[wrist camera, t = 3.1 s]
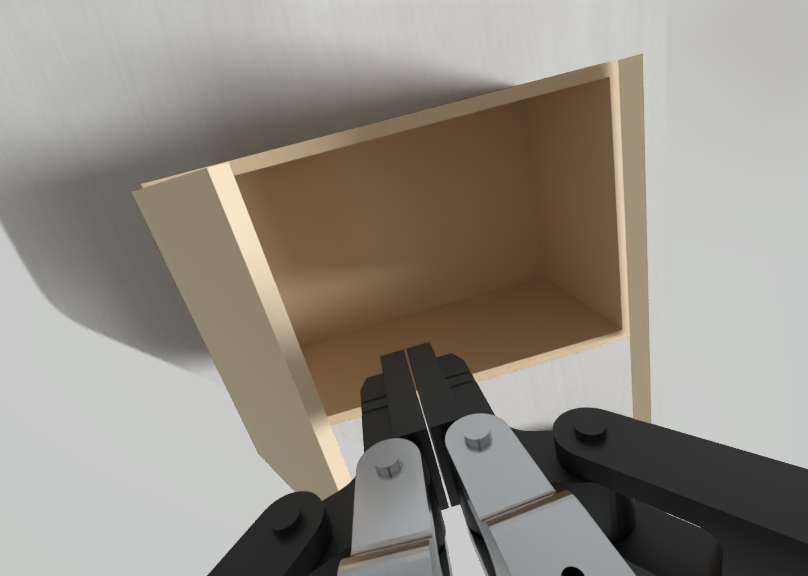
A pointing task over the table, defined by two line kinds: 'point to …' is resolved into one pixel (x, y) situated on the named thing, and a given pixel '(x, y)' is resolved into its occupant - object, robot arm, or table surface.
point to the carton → (450, 233)
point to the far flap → (636, 228)
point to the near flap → (244, 323)
